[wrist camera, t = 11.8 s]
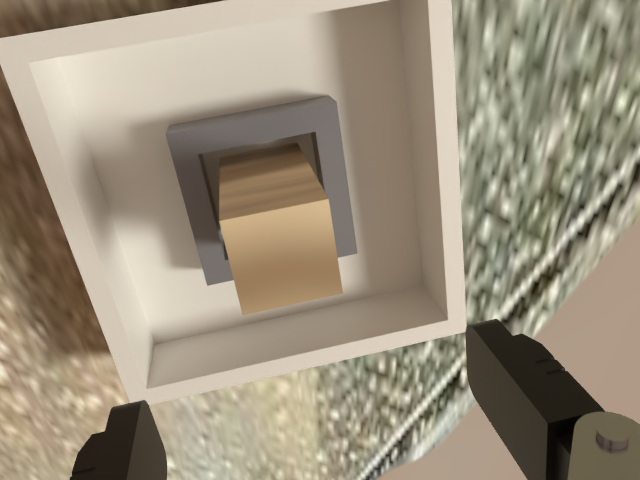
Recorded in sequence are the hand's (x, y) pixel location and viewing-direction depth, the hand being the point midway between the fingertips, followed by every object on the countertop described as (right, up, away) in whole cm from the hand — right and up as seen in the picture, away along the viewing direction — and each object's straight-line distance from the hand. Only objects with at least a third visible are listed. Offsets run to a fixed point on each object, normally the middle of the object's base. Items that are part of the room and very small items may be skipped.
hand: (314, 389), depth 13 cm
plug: (-3, +7, +15) cm, 17 cm away
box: (-3, +7, +16) cm, 18 cm away
